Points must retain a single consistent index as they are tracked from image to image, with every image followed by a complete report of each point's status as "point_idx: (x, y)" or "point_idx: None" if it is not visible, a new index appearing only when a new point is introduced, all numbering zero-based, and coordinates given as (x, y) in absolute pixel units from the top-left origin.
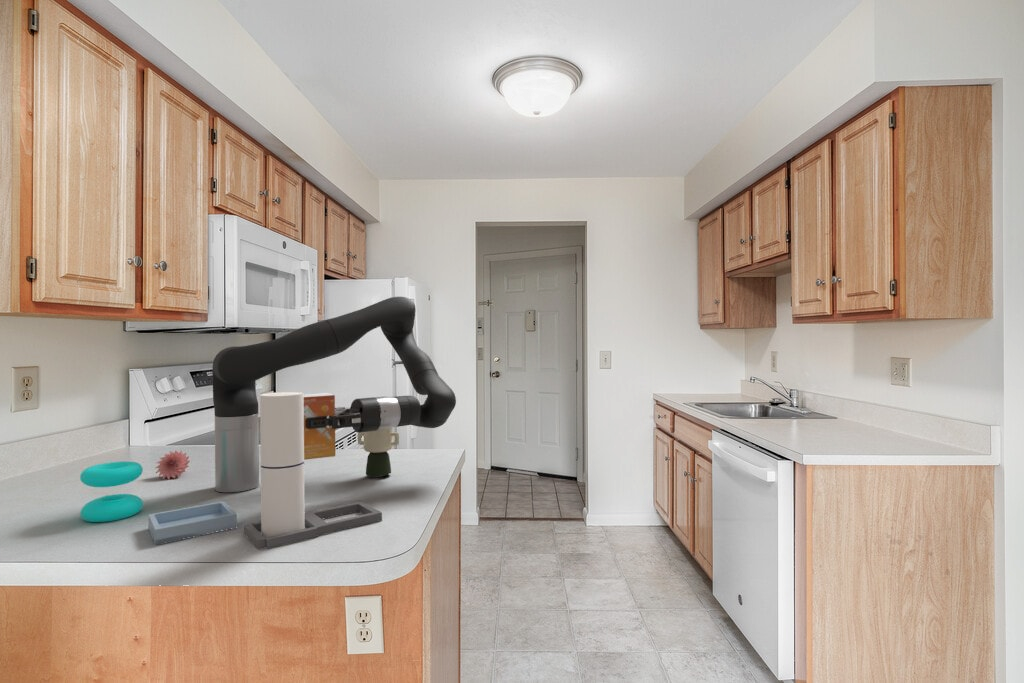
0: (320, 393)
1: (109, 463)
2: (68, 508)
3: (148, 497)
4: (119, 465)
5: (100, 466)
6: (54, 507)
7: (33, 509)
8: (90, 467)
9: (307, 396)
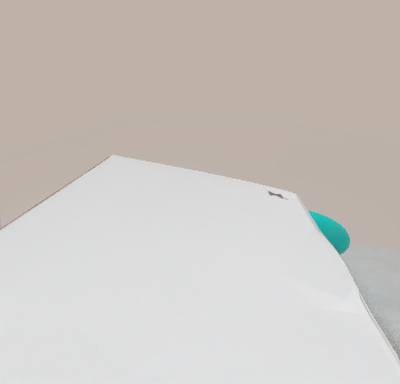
0: (306, 329)
1: (335, 224)
2: (349, 266)
3: (385, 325)
4: (330, 231)
5: (323, 219)
6: (358, 261)
7: (355, 252)
8: (313, 212)
9: (93, 178)
